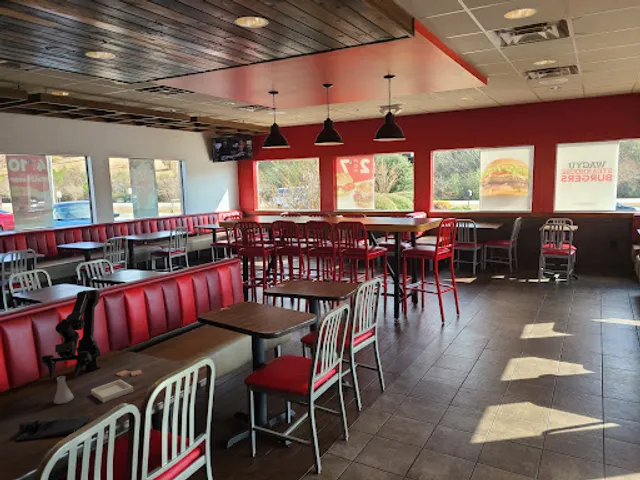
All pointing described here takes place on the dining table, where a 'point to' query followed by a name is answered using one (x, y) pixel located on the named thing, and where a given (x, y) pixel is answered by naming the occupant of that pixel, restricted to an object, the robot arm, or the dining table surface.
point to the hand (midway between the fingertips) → (63, 377)
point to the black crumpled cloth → (50, 426)
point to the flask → (62, 392)
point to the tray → (112, 390)
